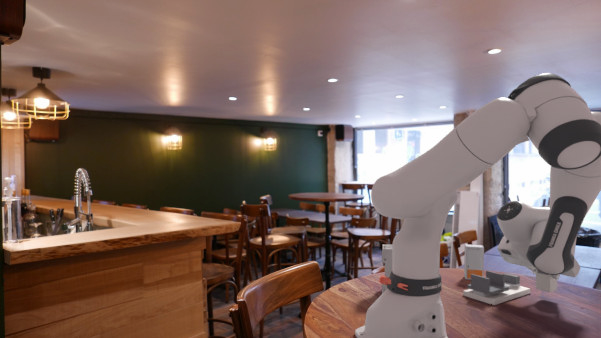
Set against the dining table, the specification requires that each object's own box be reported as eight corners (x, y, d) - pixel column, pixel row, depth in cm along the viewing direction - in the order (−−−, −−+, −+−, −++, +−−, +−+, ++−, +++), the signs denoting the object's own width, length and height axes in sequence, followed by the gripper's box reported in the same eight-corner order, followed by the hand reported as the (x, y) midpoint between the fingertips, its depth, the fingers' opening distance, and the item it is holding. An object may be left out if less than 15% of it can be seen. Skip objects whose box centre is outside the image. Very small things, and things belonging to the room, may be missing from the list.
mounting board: (493, 305, 111) (493, 300, 111) (463, 295, 120) (463, 290, 120) (530, 293, 122) (530, 288, 122) (499, 284, 130) (499, 280, 130)
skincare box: (465, 279, 136) (465, 246, 136) (464, 276, 140) (464, 243, 140) (484, 281, 134) (484, 247, 134) (482, 278, 138) (482, 244, 138)
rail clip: (490, 299, 112) (490, 280, 112) (466, 291, 119) (466, 273, 119) (527, 287, 123) (527, 270, 122) (502, 281, 129) (502, 265, 129)
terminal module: (549, 292, 113) (550, 265, 113) (535, 288, 116) (535, 262, 116) (556, 290, 115) (557, 263, 115) (542, 286, 119) (542, 260, 118)
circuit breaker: (430, 300, 115) (430, 250, 115) (382, 297, 118) (382, 248, 118) (427, 292, 122) (427, 245, 122) (381, 289, 125) (381, 244, 125)
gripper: (574, 244, 103) (590, 274, 108) (500, 232, 120) (517, 259, 125) (566, 262, 101) (582, 293, 106) (492, 248, 118) (509, 275, 123)
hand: (546, 274), depth 116 cm, fingers closed on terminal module, 4 cm apart
